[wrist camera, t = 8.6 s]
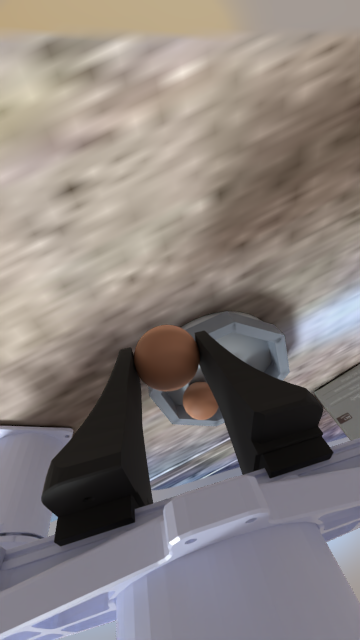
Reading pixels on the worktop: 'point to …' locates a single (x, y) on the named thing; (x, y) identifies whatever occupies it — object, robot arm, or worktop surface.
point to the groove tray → (242, 341)
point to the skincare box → (344, 401)
